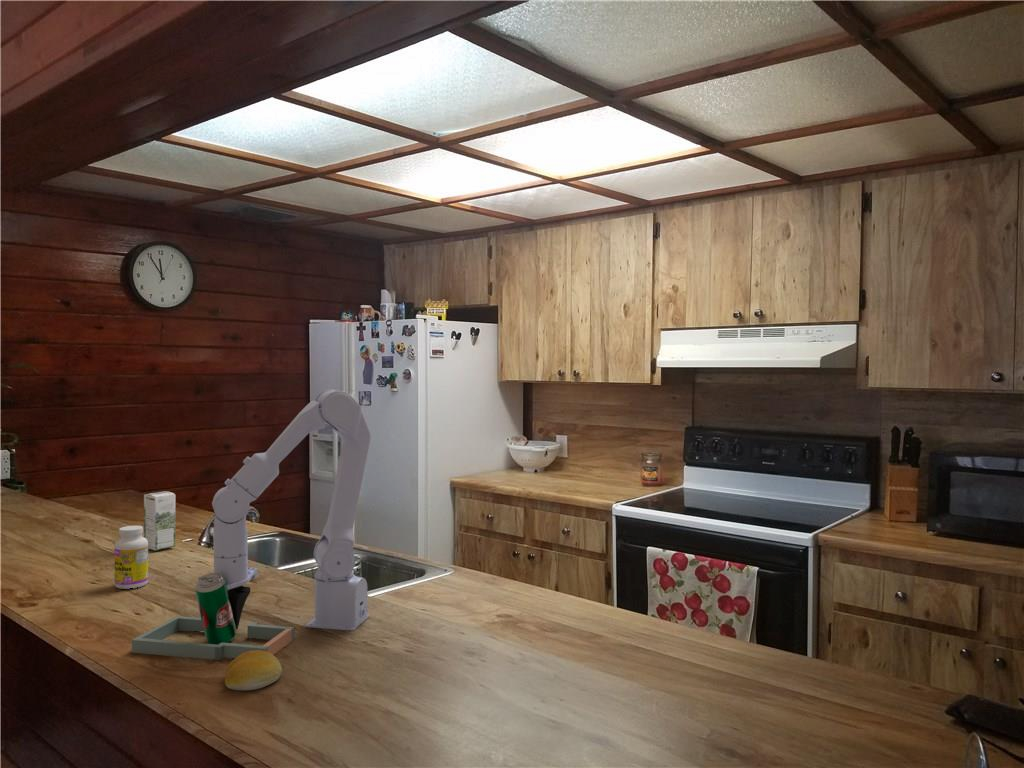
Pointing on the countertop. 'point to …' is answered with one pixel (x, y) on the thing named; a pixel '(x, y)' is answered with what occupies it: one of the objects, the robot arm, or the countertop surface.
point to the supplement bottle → (131, 558)
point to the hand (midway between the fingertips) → (231, 629)
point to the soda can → (215, 608)
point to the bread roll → (252, 671)
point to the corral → (157, 646)
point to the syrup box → (159, 520)
